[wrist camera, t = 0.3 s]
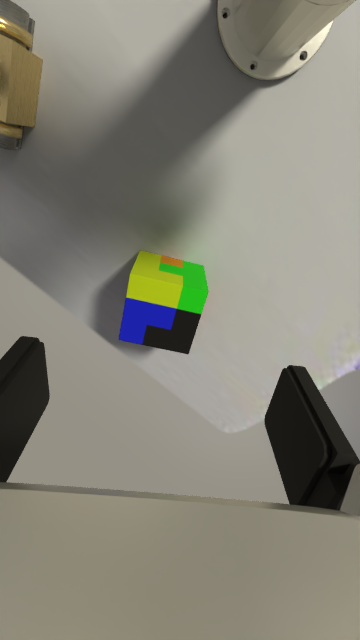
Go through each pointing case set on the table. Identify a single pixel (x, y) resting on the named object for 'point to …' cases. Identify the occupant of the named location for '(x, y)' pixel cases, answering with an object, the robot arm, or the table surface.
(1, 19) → the valve
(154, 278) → the puzzle toy
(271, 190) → the table surface
